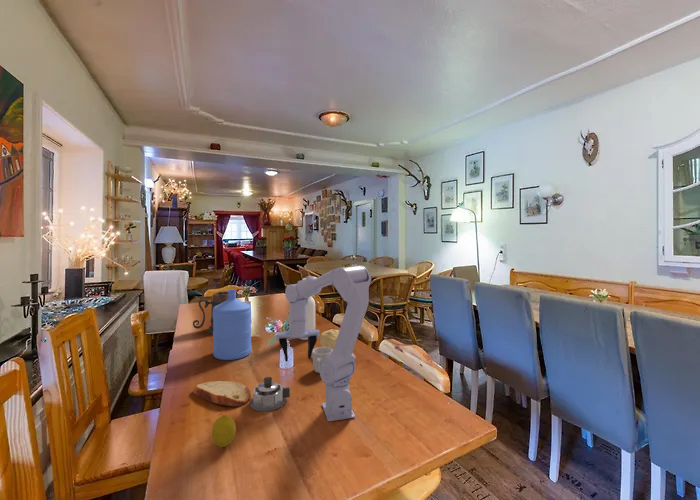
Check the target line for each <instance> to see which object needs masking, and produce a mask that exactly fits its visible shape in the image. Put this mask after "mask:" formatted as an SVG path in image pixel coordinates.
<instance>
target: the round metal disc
mask: <svg viewBox="0 0 700 500" xmlns="http://www.w3.org/2000/svg"><path fill="white" fill-rule="evenodd" d="M286 403H287V398H283V402H282V403H280V404H279V405H277V406H276V407H273V408H266V409H263V408H262V409H261V408H258V407H256V406H254V405H253V397H251V400H250V401H249V408H251V410H253V411H256V412H262V413H264V412H272V411H276V410H278V409H280V408H282V407H283V406H284V405H285V404H286Z"/></svg>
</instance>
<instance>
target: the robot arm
mask: <svg viewBox="0 0 700 500" xmlns="http://www.w3.org/2000/svg"><path fill="white" fill-rule="evenodd" d="M305 278H306V279H305V280H298V281H297V283H295V284H294V283H293V284H292V283H291V284H288V285H287V286H286V288H285V292H284V293H285V294H284V295H285V299H286V300H287V301H288V325H289V326H288V331H283V332H282V331H281V332H276V333H275V341H278V342H279V345H280V347H281V350H282V351H283V354H284V361H285V362H288V361H289V359H288V357H289V356H288V340H291V339H299V338H305V337H308V340H307V345H308V346H307V358H308V360H311V359H312V351H313V349H315V345H316V343H317V341H318V338H320V335H321V333H320V329H315V330H306V305H307V304H308V298H309V297H311V296H312V297H313V296H315V295H318V294H320V293H321V291H322V288H325V287H327V286H330V285H331V286H333V287H334V288H335V290H336V291H337V293H338V294H339V295H340V296H341V298H342V299H343V301H344V302H346V304H347V305H346V307H345V308H346V309H345V312H344V315H343V318H342V322H341V323H340V328H339V329H338V330H339V334H338V337H337V340H336V343H335V346H334V350H333V351H332V352H331V353H330V354H329V355H328V356H327V357H326V358H325V361H324V363H323V364H322V365H321V366H320V373H319V375H320V378H321V380H322V382H323V383H324V385H325V396H324V397H325V401H324V402H323V403H322V404H321V405H322V408H323V412H324V413H325V416H326V420H327V422H334V421H340V420H342V421H343V420H347V419H355V417H356V414H355V413H354V410H353V403H352V402H353V397H352V393H351V391H350V383H351V382H350V380H352V375H354V374H355V371H356V360H357V357H356V355H355V354H354V352H353V351H354V348H355V346H356V342H357V340H358V338H359V334H360V330H361V327H362V325H363V321H364V318H365V315H366V312H367V309H368V306H369V302H370V294H369V292H370V291H369V290H370V289H369V287H370V285H371V282H372V276H371V274H370V273H369V270H368V269H367V268H366V267H365V266H364V265H361V264H360V265H359V264H358V265H356V266H347V267H337V268H334V269H331V270H329V271H328V272H326V273H324V274H322V275H320V276H319V277H316V276H312V275H308V276H305Z"/></svg>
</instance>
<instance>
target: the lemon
mask: <svg viewBox="0 0 700 500" xmlns="http://www.w3.org/2000/svg"><path fill="white" fill-rule="evenodd" d="M236 427H237V426H236V423H235V421H234V418H232V416H230V415H226V414H225V415H224V414H223V415H221V416H219V417H217V419H216V420H215V421H214V422H213V425H212V427H211V438H212V442H213V443H214V445H216V446H217V447H222V448H226V447H227V446H228V445H229V444H231V443H232V442H233V440H234V438H235V436H236Z"/></svg>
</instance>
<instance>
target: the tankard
mask: <svg viewBox="0 0 700 500" xmlns="http://www.w3.org/2000/svg"><path fill="white" fill-rule="evenodd" d="M228 294H229V292H228V291H224V290H223V291H217V292H215V293H213V294H212V298H211V301H209V300H208V299H206V298H201V299H199V301H198V307H199V309H200V310H201V312H202V322H201V324H200V321H199V320H198V319H195V320H193V322H192V326H193V328H195V329H198V330H199V329H201V328H202V327H203V326H204V324H205V322H206V313H205V310H204V309H203V307H202V305H201V302H204V308H205V309H206V308H208V306H209V305H211V311H210V313H211V315H210V326H209V327H208V329H207V330H206V333H208V334H211V335H213V308H214V307H215V306H217V305H219V304H221V303H223V302H225V301H227V300H228ZM195 323H196V324H195Z"/></svg>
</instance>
